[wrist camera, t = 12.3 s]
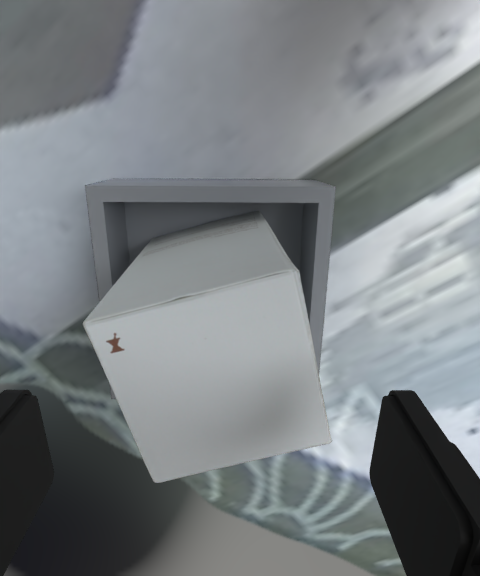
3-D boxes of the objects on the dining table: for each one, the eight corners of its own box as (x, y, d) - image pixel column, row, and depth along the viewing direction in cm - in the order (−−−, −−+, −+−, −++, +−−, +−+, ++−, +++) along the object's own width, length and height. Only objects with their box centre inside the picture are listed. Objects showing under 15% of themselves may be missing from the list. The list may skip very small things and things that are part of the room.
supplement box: (183, 338, 27) (146, 490, 15) (149, 236, 24) (72, 319, 12) (287, 313, 26) (336, 450, 14) (263, 207, 24) (299, 264, 12)
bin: (113, 178, 24) (84, 185, 19) (314, 179, 24) (335, 186, 20) (131, 357, 28) (111, 398, 23) (302, 356, 29) (317, 396, 24)
